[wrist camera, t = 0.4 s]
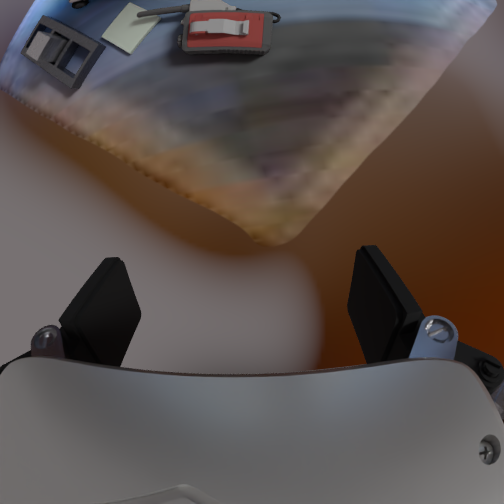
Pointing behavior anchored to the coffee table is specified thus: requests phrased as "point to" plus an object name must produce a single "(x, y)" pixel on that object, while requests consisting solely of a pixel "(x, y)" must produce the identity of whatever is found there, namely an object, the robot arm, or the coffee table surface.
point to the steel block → (47, 46)
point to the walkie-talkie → (221, 28)
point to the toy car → (78, 3)
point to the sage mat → (130, 28)
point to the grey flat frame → (66, 52)
